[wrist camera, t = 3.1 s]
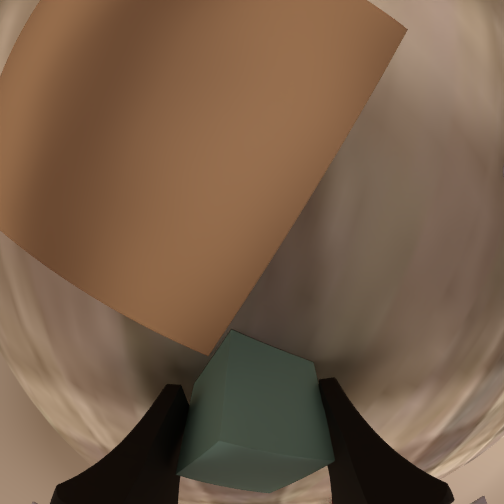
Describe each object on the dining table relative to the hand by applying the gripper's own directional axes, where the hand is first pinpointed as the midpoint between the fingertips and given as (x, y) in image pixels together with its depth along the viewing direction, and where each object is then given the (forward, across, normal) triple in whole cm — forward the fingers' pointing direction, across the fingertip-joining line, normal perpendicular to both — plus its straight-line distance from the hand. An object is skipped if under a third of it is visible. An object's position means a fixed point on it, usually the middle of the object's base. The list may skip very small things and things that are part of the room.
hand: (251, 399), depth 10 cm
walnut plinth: (+1, +2, -11) cm, 11 cm away
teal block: (+1, 0, 0) cm, 1 cm away
